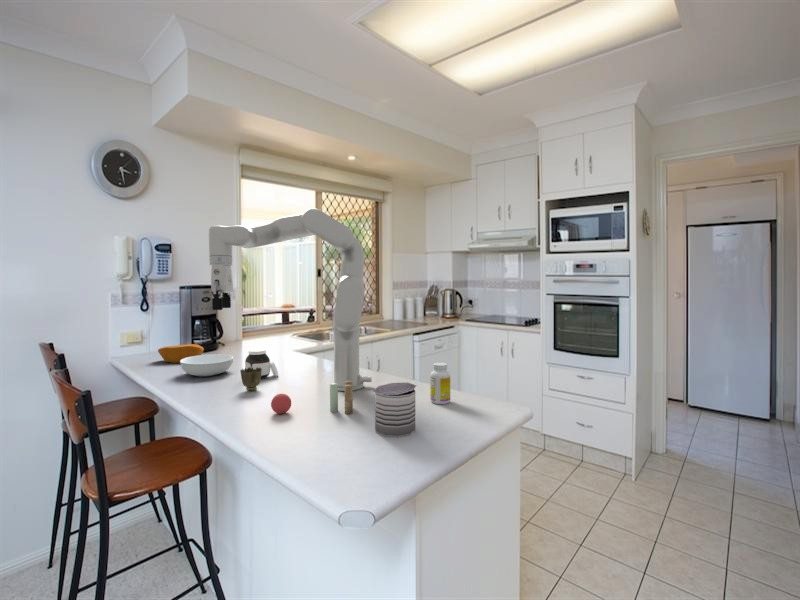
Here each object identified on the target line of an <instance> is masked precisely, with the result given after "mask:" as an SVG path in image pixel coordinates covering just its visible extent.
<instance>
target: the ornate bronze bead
mask: <svg viewBox="0 0 800 600" xmlns="http://www.w3.org/2000/svg"><path fill="white" fill-rule="evenodd" d="M261 372H262V368H258V367H257V368H256V369H253V367H252V368H250V367H249V368H248V369H246V368H242V369H240V371H239V373H240V378H241V381H242V384H243V385H242V386H244V387H246V389H245V390H246V391H247V392H255V391H257V389H258V388H257V386H259V385H260V382H261V380H262V379H261ZM254 390H255V391H254Z"/></svg>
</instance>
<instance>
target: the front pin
mask: <svg viewBox="0 0 800 600" xmlns="http://www.w3.org/2000/svg"><path fill="white" fill-rule="evenodd" d="M329 403H330V404H329V406H330V407H329V410H330V413H338V412H339V391H338V384H337V383H333V382H331V383H330V384H329Z"/></svg>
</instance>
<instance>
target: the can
mask: <svg viewBox="0 0 800 600" xmlns="http://www.w3.org/2000/svg"><path fill="white" fill-rule="evenodd" d="M416 387H417V384H413V383H410V382H391V383H386V384H382V385H378V386H377V387H376V388H375V389H374V390H373V392H374V430H375V433H376V434H377V435H380V436H383V437H387V438H401V437H407V436H411V435H412V434H413V433H415V432H416V390H415V389H416Z"/></svg>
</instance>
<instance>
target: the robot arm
mask: <svg viewBox="0 0 800 600" xmlns="http://www.w3.org/2000/svg"><path fill="white" fill-rule="evenodd" d="M311 236H315V237H318V238H320V239H321V240H322V241H324V242H326V243H327V244H330V245H331V246H332V248H333V249H334V250H337V251H338V252H339V253H340V256H341V264H340V274H339V279H338V283H337V286H336V288H337V290H336V297H335V306H334V312H333V318H332V319H333V363H334V364H333V367H334V368H333V369H334V370H333V371H334V372H333V374H334V375H333V377H334V379H333V382H332V383H337V384H338V392H345V381H352V389H353V391H358V390H361V389H362V388H364V386H365V385H364V383H372V380H373V378H372V376H368V375H367V376H362V375H361V373H360V324H361V318H362V312H363V304H364V295H365V286H364V282H363V278H364V266H365V252H364V248H363V246H362V243H360V241H359V239H357V237H355V235H354V233H353V230H351V229H350V227H348V226H347V225H345V224H344V223H342V222H341V221H338V220H337V219H335V218H334V217H333V216H330V215H329V214H327V213H326V212H324V211H323V210H320V209H318V208H313V207H311V208H307V209H306V210H305V211H304V212H303V213H298V214H292V215H287V216H281V217H280V216H279V217H278V218H275V219H274V220H273V221H272V222H270V223H267V224H263V225H258V226H254V227H248V226H245V225H230V226H228V225H227V226H226V225H212V226H210V227H209V228H208V251H209V252H208V253H209V255H208V256H209V261H208V262H209V266H211V273H210V276H211V277H210V287H211V299H212V300H211V301H212V302H211V303H212V311H222V310H223V309H230V308H231V307H232V300H231V299H232V298H231V296H232V295H231V293H232V292H233V291H234V283H233V271H232V266H233V246H235V247H240V248H243V249H253V248H254V249H255V248H259V247H264V246H268V245H273V244H277V243H282V242H286V241H291V240H295V239H302V238H307V237H311Z"/></svg>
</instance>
